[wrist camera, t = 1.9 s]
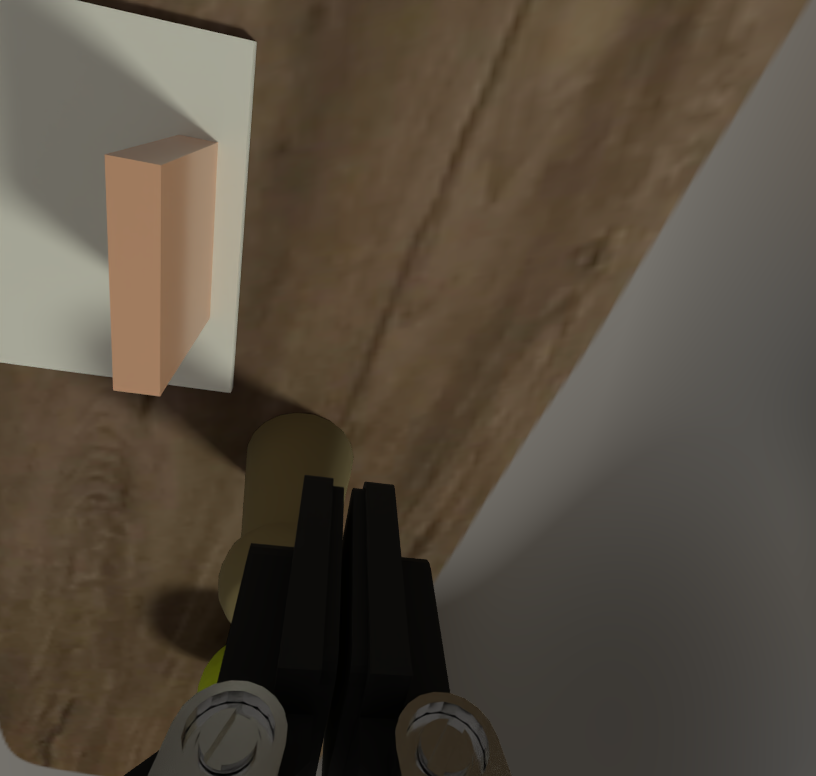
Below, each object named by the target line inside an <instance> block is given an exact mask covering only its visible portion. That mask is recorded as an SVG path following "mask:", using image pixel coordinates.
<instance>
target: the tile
mask: <svg viewBox="0 0 816 776" xmlns="http://www.w3.org/2000/svg"><path fill="white" fill-rule="evenodd" d="M217 156H218V142H214V141H209V140H204V139H199V138H194V137H189V136H184V135H175V136H171V137H168V138H164V139H160V140H157V141H153V142H149V143H145V144H142V145H138V146H134V147H130V148H127V149H123V150H119V151H115V152H112V153H108V154H105V181H106V209H107V236H108V263H109V290H110V317H111V345H112V372H113V390H114V391H122V392H130V393H137V394H145V395H153V396H161V394H162V392H163V391H164V389H165V388H166V386H167V385H168V383H169V381H170V380H171V378H172V377H173V375H174V374H175V372H176V371H177V369H178V367H179V366H180V364H181V363H182V361H183V360H184V358H185V356H186V355H187V353H188V352H189V350H190V349H191V347H192V345H193V344H194V342H195V341H196V339H197V338H198V336H199V334H200V333H201V331H202V330H203V328H204V327H205V325H206V323H207V322H208V320H209V319H210V308H211V286H212V265H213V243H214V221H215V199H216V178H217Z"/></svg>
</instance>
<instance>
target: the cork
mask: <svg viewBox="0 0 816 776" xmlns="http://www.w3.org/2000/svg"><path fill="white" fill-rule="evenodd" d="M353 457H354V456H353V452H352V447H351V443H350V442H349V440H348V439H347V437H346V436H345V434H344V432H343V431H342V430H341V429H339V428H338V427H337V426H336V425H334V424H333V423H332V422H331V421H329V420H326V419H324V418H321V417H319V416H316V415H314V414H305V413H291V414H285V415H279V416H277V417H275V418H273V419H271V420H269V421H267V422H265V423H264V424H263V425H262V426H261V427H259V428H258V429H257V430H256V431H255V432H254V433H253V435H252V438H251V440H250V442H249V444H248V446H247V460H246V474H245V489H244V503H243V518H242V532H241V538H240V539H239V540H237V541H236V542H235V543H234V545H233V546H232V548H231V549H230V550H229V552H228V554H227V556H226V558H225V560H224V562H223V564H222V566H221V570H220V573H219V581H218V597H219V602H220V604H221V606H222V609H223V611H224V613H225V615H226V617H227V619H228V620H229V621H230V622H232V618H233V614H234V610H235V606H236V601H237V597H238V593H239V589H240V585H241V580H242V576H243V572H244V568H245V564H246V560H247V555H248V551H249V548H250V545H251V543H256V544H267V545H277V546H288V547H294V545H295V538H296V531H297V524H298V517H299V510H300V503H301V496H302V489H303V482H304V475H312V476H320V477H329V478H333V479H334V483H333V486H339V487H344V499H345V495H346V491H347V487H348V483H349V478H350V474H351V470H352V464H353Z"/></svg>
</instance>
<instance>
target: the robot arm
mask: <svg viewBox="0 0 816 776" xmlns="http://www.w3.org/2000/svg"><path fill="white" fill-rule="evenodd" d="M333 483H334V479H333V478H329V477H320V476H312V475H304V482H303V489H302V496H301V503H300V510H299V517H298V524H297V531H296V538H295V545H294V547H288V546H277V545H267V544H256V543H251V545H250V548H249V551H248V555H247V560H246V564H245V568H244V572H243V576H242V580H241V585H240V589H239V593H238V597H237V601H236V606H235V610H234V614H233V618H232V622H231V626H230V631H229V635H228V639H227V643H226V647H225V651H224V656H223V660H222V664H221V668H220V672H219V676H218V681H217V684H213V685H211V686H209V687H207V688H205V689H203V690H201V691H199V692H198V693H196V694H195V695H194V696H193V697H192V698H191V699H190V700H188V701H187V702H186V703H185V704H184V705H183V706H182V708H181V709H180V711H179V712H178V714H177V715H176V717H175V719H174V720H173V722H172V724H171V726H170V728H169V730H168V733H167V735H166V737H165V739H164V741H163V743H162V746H161V748H160V750H159V751H157V752H156V753H155V754H153V755H152V756H150V757H149V758H148V759H146V760H145V761H144V762H142V763H141V764H139V765H138V766H137V767H135V768H134V769H132V770H131V771H130V772H128V773H127V774H125V775H124V776H316V771H317V766H318V762H319V757H320V752H321V748H322V743H323V761H322V776H511V773H510V770H509V767H508V764H507V762H506V759H505V756H504V754H503V750H502V748H501V745H500V742H499V739H498V737H497V735H496V733H495V731H494V729H493V727H492V725H491V723H490V721H489V720H488V719H487V717H486V716H485V715H484V714H483V713H482V712H481V711H480V710H479V709H478V708H477V707H476V706H474V705H473V704H472V703H470V702H469V701H467V700H466V699H464V698H462V697H459V696H456V695H453V694H451V693H450V689H449V683H448V676H447V670H446V664H445V658H444V651H443V644H442V639H441V632H440V626H439V619H438V612H437V606H436V599H435V593H434V587H433V580H432V574H431V568H430V564H429V562H428V560H425V559H415V558H404V557H401V549H400V538H399V528H398V518H397V507H396V497H395V488H394V485H390V484H382V483H373V482H365V483H364V486H363V489H357V488H353V489H352V493H351V498H350V503H349V509H348V514H347V519H346V524H345V530H344V535H343V508H344V487H339V486H333ZM342 538H343V540H342ZM323 738H324V742H323Z"/></svg>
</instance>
